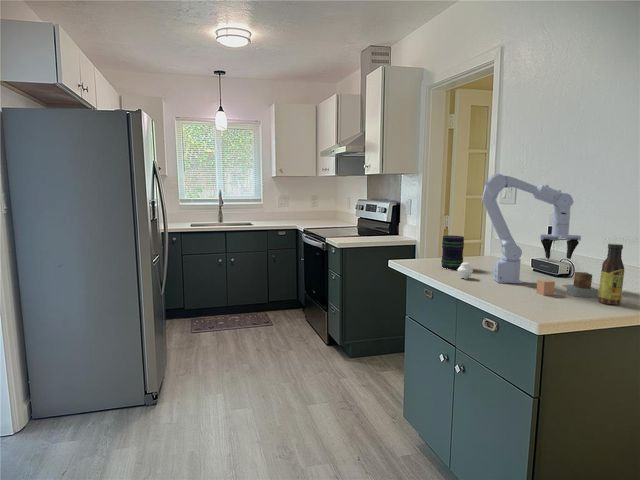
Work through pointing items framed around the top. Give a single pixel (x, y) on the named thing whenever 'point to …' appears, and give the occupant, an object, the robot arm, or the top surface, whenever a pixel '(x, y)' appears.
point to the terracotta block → (545, 287)
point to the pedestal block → (582, 291)
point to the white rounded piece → (465, 270)
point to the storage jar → (452, 251)
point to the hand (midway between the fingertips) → (558, 258)
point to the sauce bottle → (612, 276)
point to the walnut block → (582, 280)
